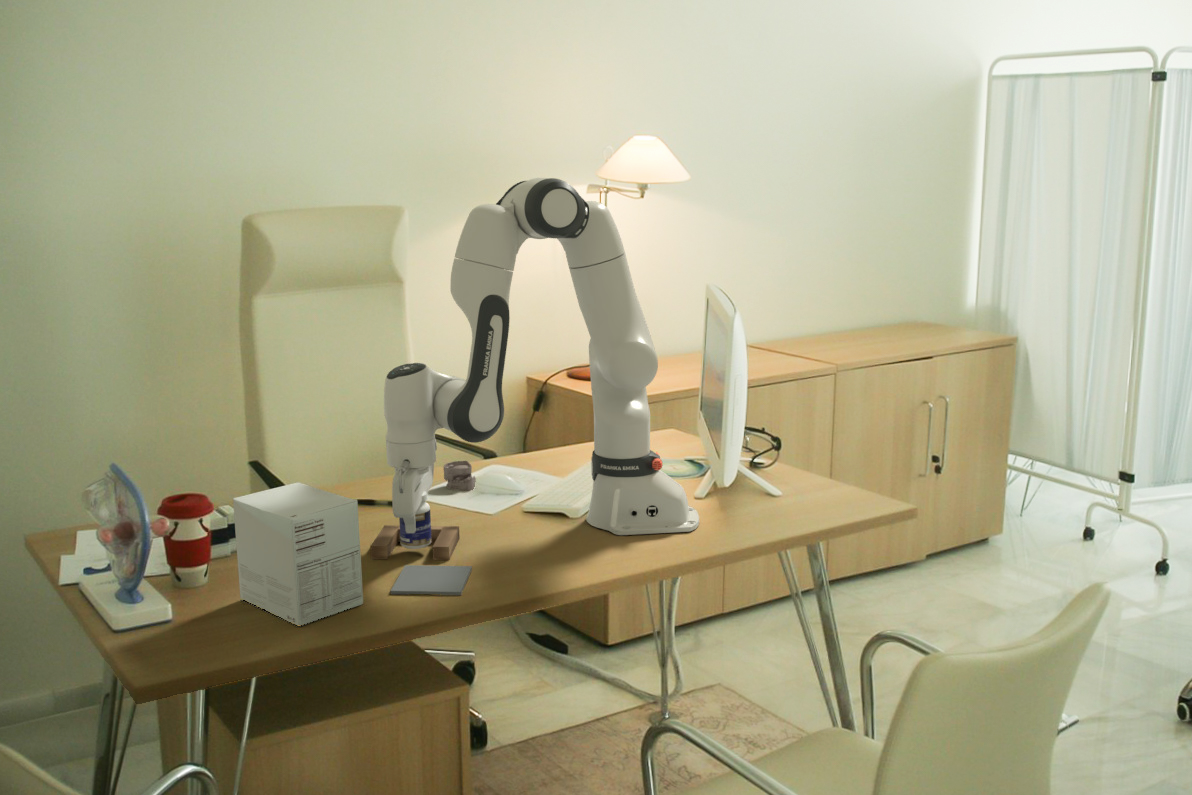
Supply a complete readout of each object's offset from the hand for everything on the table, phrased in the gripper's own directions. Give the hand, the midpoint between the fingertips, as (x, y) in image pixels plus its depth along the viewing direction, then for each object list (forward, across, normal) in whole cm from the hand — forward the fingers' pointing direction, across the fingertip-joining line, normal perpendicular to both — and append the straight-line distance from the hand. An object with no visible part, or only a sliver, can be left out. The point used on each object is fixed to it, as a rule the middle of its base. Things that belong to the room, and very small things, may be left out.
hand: (415, 525), depth 218 cm
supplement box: (+5, -24, +15) cm, 29 cm away
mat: (+5, -14, -6) cm, 16 cm away
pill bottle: (+4, 0, 0) cm, 4 cm away
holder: (+5, +2, 0) cm, 6 cm away
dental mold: (+6, +42, -1) cm, 43 cm away
